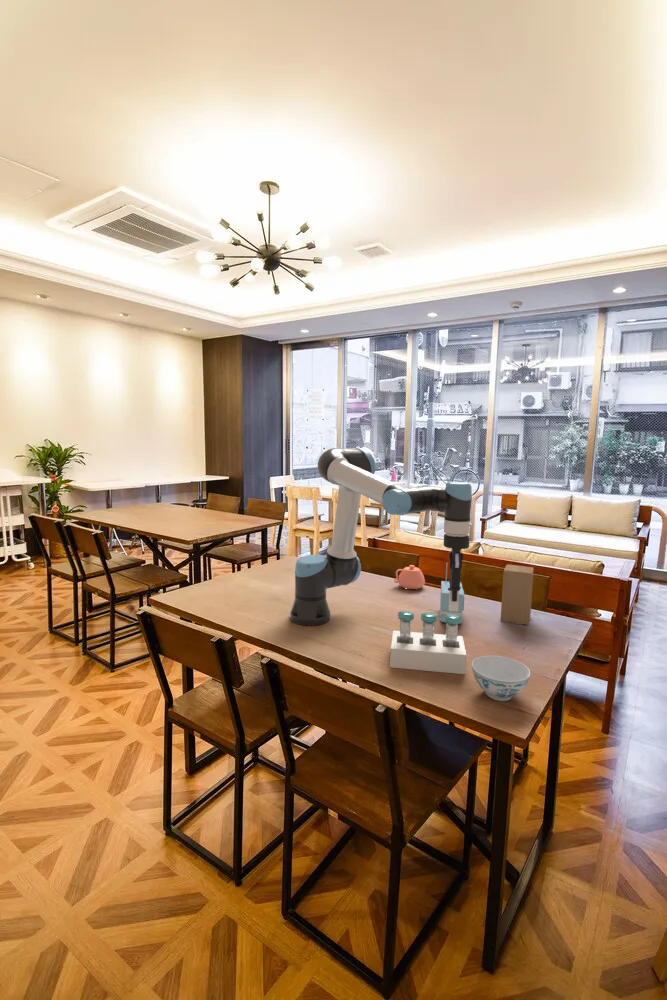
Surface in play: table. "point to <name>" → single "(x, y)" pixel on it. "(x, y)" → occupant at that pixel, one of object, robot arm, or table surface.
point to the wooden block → (517, 594)
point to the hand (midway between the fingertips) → (453, 610)
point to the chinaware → (500, 676)
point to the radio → (445, 601)
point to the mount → (428, 654)
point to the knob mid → (428, 628)
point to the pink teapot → (410, 578)
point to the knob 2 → (451, 630)
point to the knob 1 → (405, 626)
